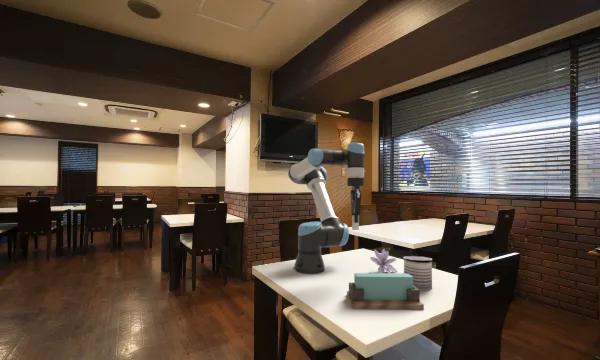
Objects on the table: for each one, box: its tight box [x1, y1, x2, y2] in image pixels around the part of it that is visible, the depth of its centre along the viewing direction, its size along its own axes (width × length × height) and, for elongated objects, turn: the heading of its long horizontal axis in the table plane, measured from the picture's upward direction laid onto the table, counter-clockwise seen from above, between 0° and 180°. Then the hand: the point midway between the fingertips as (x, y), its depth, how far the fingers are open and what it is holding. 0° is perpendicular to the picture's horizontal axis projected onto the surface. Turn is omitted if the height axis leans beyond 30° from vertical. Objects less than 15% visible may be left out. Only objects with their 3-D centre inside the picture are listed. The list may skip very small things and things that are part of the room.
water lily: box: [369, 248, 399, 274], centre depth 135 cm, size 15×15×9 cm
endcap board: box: [346, 282, 425, 310], centre depth 98 cm, size 24×12×6 cm, turn 90°
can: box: [403, 255, 433, 291], centre depth 115 cm, size 11×11×12 cm
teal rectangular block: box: [353, 272, 413, 300], centre depth 98 cm, size 20×4×8 cm, turn 90°
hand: (355, 229), depth 123 cm, fingers closed
